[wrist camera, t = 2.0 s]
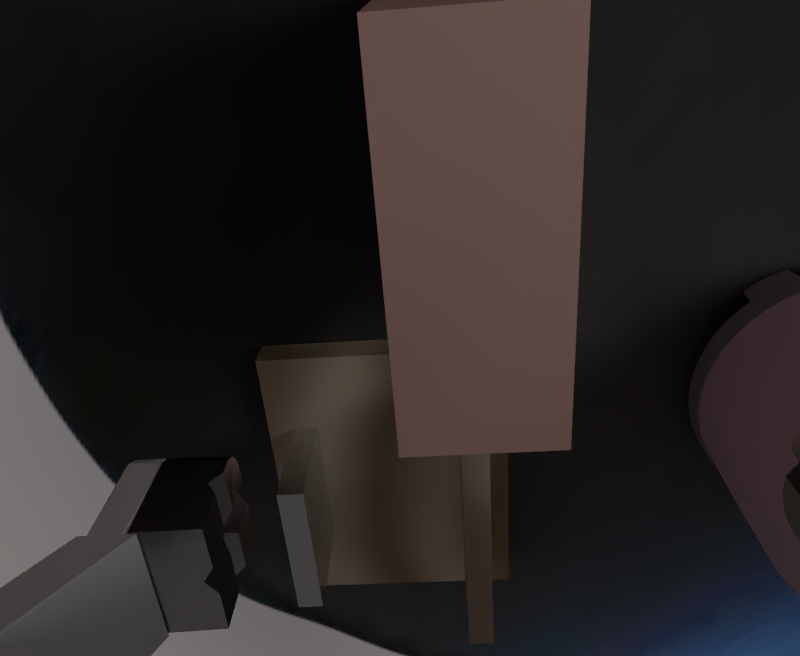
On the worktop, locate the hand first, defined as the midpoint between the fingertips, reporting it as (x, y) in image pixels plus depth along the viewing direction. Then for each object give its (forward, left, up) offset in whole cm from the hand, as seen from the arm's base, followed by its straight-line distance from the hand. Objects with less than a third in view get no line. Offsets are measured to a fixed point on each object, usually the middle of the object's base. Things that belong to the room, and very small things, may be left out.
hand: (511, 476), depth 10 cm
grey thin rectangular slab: (+8, +17, -21) cm, 28 cm away
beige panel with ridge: (+4, +17, -22) cm, 28 cm away
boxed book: (0, 0, -22) cm, 22 cm away
